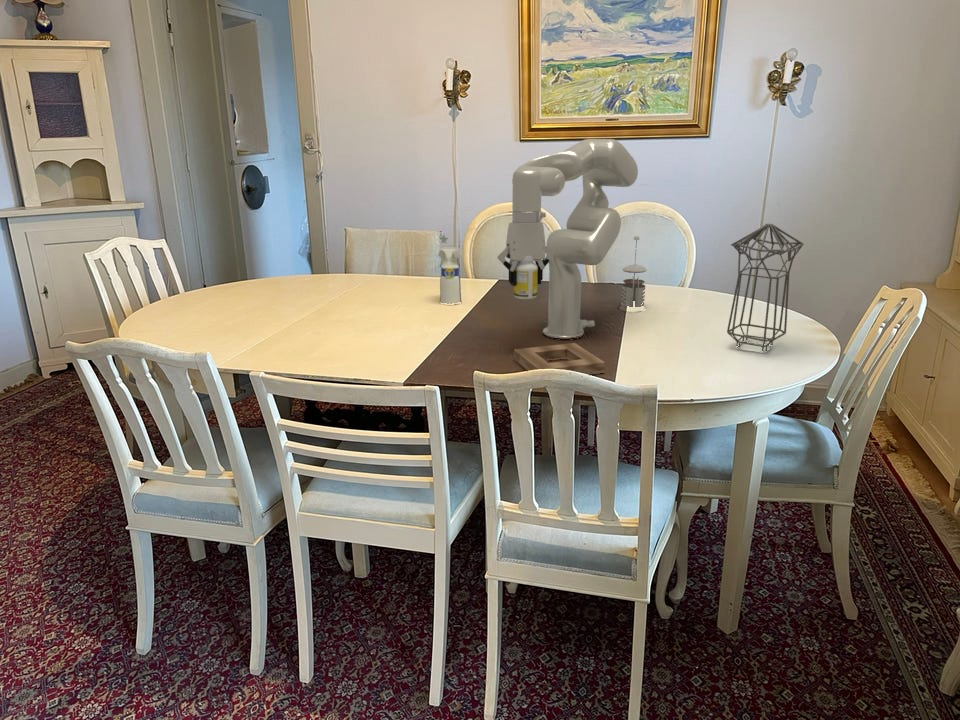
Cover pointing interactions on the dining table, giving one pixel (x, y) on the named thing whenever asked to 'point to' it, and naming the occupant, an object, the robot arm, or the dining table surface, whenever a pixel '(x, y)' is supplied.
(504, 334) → the dining table surface
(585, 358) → the board with square hole
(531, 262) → the pill bottle
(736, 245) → the geometric lantern
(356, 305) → the dining table surface
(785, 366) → the dining table surface
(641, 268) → the french press
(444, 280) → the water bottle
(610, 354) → the dining table surface
